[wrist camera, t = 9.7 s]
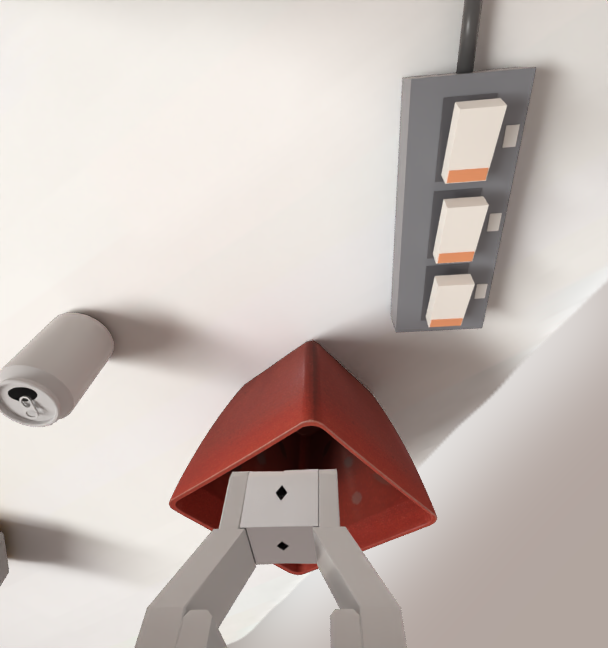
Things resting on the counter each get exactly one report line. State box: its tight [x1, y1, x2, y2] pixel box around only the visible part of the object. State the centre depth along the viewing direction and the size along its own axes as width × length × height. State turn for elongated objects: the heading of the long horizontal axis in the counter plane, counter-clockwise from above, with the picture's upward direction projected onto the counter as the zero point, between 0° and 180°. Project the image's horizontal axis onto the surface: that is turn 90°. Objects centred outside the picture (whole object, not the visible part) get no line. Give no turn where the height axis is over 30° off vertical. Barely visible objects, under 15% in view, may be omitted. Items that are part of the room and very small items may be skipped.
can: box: [0, 313, 114, 427], centre depth 42 cm, size 8×8×12 cm
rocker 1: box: [441, 98, 507, 184], centre depth 30 cm, size 6×3×2 cm, turn 4°
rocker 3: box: [426, 274, 475, 327], centre depth 37 cm, size 6×3×2 cm, turn 4°
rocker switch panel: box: [391, 0, 536, 332], centre depth 35 cm, size 29×9×4 cm, turn 5°
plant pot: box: [169, 341, 437, 575], centre depth 44 cm, size 19×19×17 cm
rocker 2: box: [433, 196, 489, 264], centre depth 34 cm, size 6×3×2 cm, turn 4°
